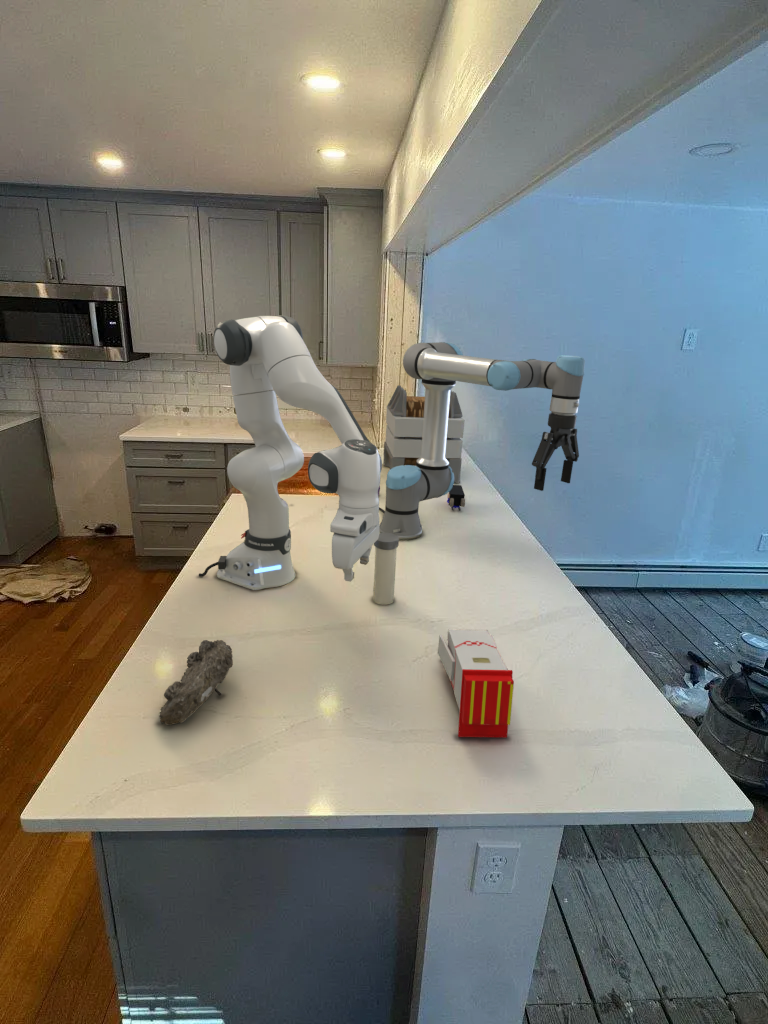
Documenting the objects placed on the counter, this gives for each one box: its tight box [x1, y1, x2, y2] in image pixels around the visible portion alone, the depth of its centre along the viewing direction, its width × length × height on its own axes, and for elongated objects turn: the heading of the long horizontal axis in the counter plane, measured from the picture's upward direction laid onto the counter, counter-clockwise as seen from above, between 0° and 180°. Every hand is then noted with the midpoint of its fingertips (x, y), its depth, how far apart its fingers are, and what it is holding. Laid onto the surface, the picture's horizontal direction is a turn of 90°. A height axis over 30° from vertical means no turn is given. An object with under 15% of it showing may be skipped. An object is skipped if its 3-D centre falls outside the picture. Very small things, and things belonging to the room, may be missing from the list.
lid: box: [373, 533, 400, 550], centre depth 149 cm, size 6×6×2 cm
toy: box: [437, 628, 515, 738], centre depth 117 cm, size 12×13×30 cm
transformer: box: [382, 384, 465, 484], centre depth 268 cm, size 34×33×41 cm
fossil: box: [158, 639, 234, 726], centre depth 113 cm, size 22×10×15 cm
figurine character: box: [446, 484, 466, 511], centre depth 229 cm, size 7×8×15 cm
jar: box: [372, 546, 398, 606], centre depth 151 cm, size 6×6×18 cm
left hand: (357, 571), depth 129 cm, fingers open, 8 cm apart
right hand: (552, 485), depth 166 cm, fingers open, 13 cm apart
